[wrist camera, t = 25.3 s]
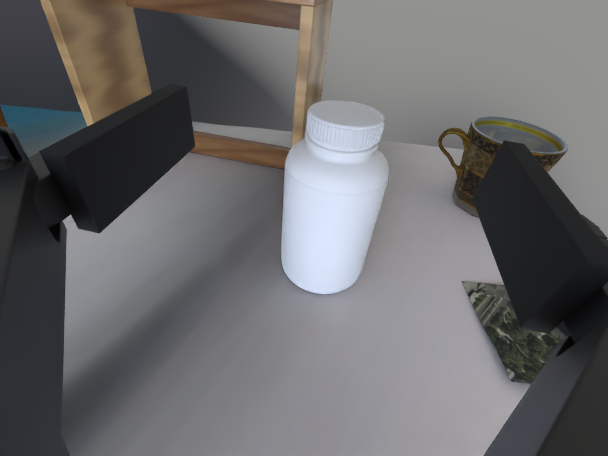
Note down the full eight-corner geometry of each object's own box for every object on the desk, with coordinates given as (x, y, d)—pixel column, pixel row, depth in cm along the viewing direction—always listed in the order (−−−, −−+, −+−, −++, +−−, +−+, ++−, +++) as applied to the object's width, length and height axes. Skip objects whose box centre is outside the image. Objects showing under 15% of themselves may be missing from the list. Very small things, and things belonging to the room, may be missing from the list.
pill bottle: (319, 227, 35) (342, 87, 25) (376, 269, 31) (429, 120, 21) (263, 258, 30) (263, 103, 21) (320, 313, 26) (355, 150, 17)
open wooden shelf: (295, 216, 36) (315, -11, 22) (107, 179, 38) (21, -47, 25) (312, 171, 44) (334, -15, 31) (157, 142, 47) (113, -42, 33)
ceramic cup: (506, 191, 45) (547, 124, 38) (530, 235, 37) (586, 160, 31) (415, 175, 46) (440, 107, 40) (420, 214, 38) (452, 138, 32)
